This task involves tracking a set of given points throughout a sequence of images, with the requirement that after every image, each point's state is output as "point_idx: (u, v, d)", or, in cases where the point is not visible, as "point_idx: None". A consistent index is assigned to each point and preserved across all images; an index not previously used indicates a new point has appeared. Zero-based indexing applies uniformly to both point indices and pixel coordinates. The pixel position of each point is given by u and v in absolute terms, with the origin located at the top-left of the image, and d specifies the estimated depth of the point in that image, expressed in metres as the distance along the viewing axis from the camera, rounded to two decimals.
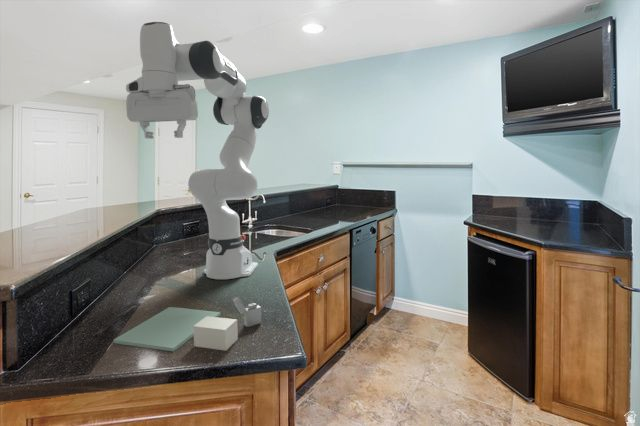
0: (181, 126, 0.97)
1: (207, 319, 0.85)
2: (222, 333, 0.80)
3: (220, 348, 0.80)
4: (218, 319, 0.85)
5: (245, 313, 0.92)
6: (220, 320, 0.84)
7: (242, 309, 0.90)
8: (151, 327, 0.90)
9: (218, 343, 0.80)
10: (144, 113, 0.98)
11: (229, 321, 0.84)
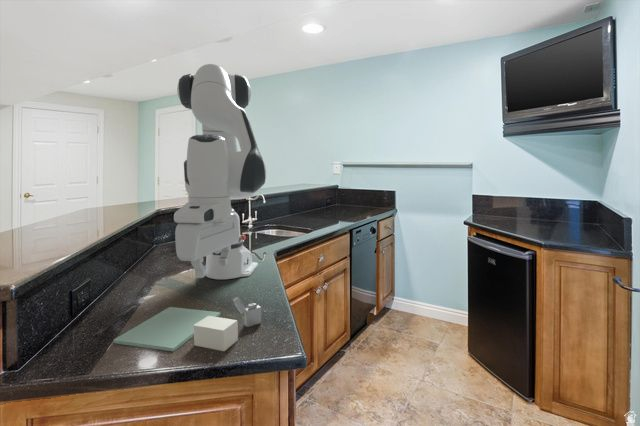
0: None
1: (208, 318, 0.85)
2: (220, 333, 0.80)
3: (218, 348, 0.80)
4: (219, 319, 0.85)
5: (245, 313, 0.92)
6: (221, 320, 0.84)
7: (242, 309, 0.90)
8: (151, 327, 0.90)
9: (217, 343, 0.80)
10: (208, 246, 0.76)
11: (229, 322, 0.83)
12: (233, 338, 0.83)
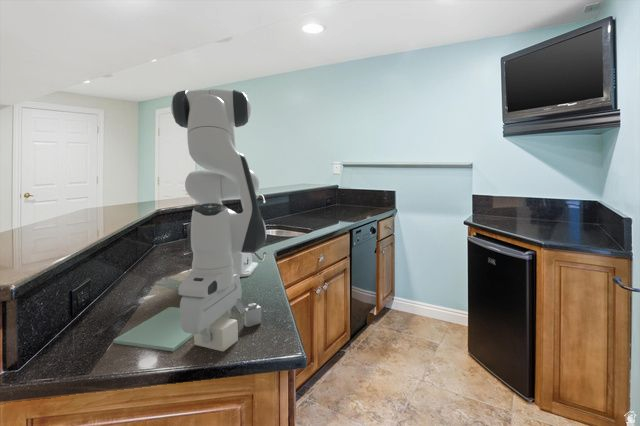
0: None
1: None
2: (219, 333, 0.79)
3: (217, 348, 0.80)
4: (219, 318, 0.85)
5: (245, 313, 0.92)
6: (221, 319, 0.84)
7: (242, 309, 0.90)
8: (151, 327, 0.90)
9: (216, 342, 0.80)
10: (212, 315, 0.78)
11: (229, 321, 0.83)
12: (233, 338, 0.83)
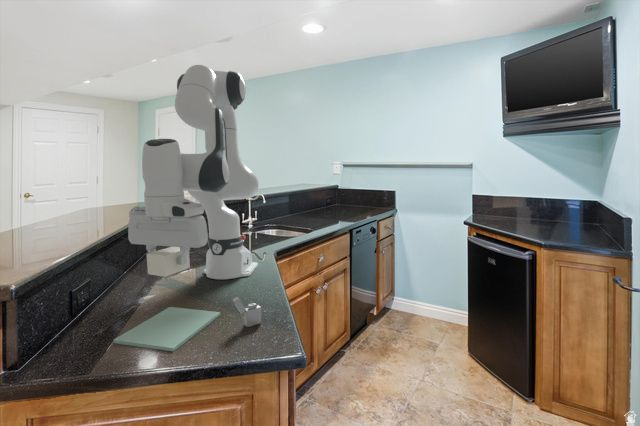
0: None
1: (155, 253, 0.87)
2: None
3: (185, 267, 0.91)
4: (161, 250, 0.89)
5: (245, 313, 0.92)
6: (164, 250, 0.90)
7: (242, 309, 0.90)
8: (151, 327, 0.90)
9: None
10: None
11: (172, 248, 0.92)
12: None
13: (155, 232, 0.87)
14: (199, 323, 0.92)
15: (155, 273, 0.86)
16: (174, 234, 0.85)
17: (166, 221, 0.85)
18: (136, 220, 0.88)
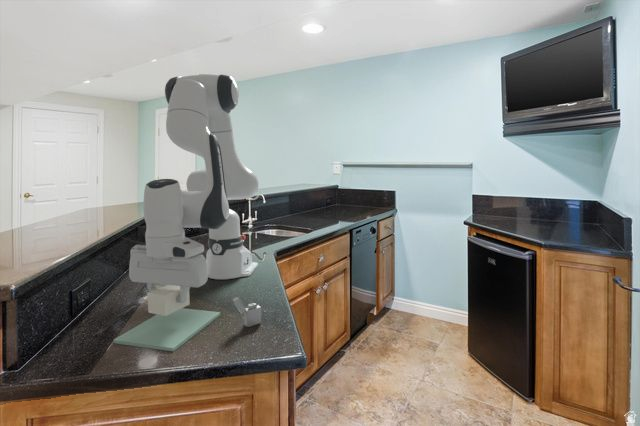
0: None
1: (155, 292, 0.88)
2: None
3: (185, 304, 0.92)
4: (162, 288, 0.90)
5: (245, 313, 0.92)
6: (165, 287, 0.91)
7: (242, 309, 0.90)
8: (151, 327, 0.90)
9: None
10: None
11: None
12: None
13: (155, 270, 0.88)
14: (199, 323, 0.92)
15: (155, 312, 0.87)
16: (175, 273, 0.87)
17: (166, 261, 0.86)
18: (137, 259, 0.89)
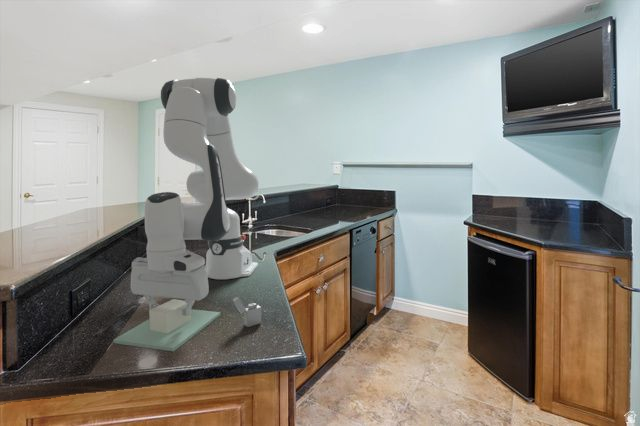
0: None
1: (157, 309, 0.88)
2: None
3: (187, 320, 0.93)
4: (163, 305, 0.91)
5: (245, 313, 0.92)
6: (166, 304, 0.92)
7: (242, 309, 0.90)
8: None
9: (185, 316, 0.92)
10: None
11: (174, 301, 0.94)
12: None
13: (156, 283, 0.89)
14: (199, 323, 0.92)
15: (158, 329, 0.88)
16: (176, 287, 0.87)
17: (167, 274, 0.87)
18: (138, 272, 0.89)
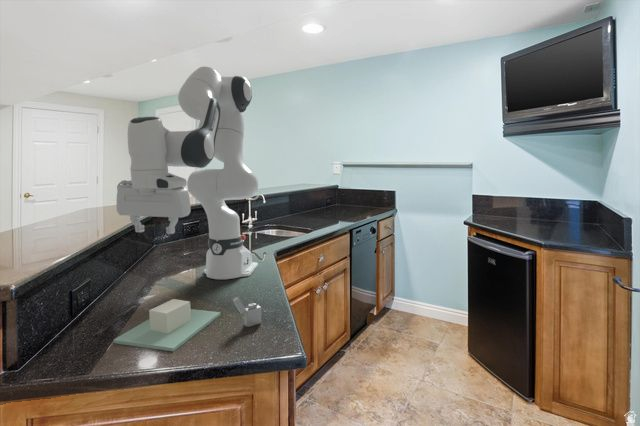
0: None
1: (157, 309, 0.88)
2: (188, 306, 0.93)
3: (187, 320, 0.93)
4: (163, 305, 0.91)
5: (245, 313, 0.92)
6: (166, 304, 0.92)
7: (242, 309, 0.90)
8: None
9: (185, 316, 0.92)
10: None
11: (174, 301, 0.94)
12: None
13: (141, 203, 0.94)
14: (199, 323, 0.92)
15: (158, 329, 0.88)
16: (159, 205, 0.93)
17: (151, 193, 0.92)
18: (123, 193, 0.95)
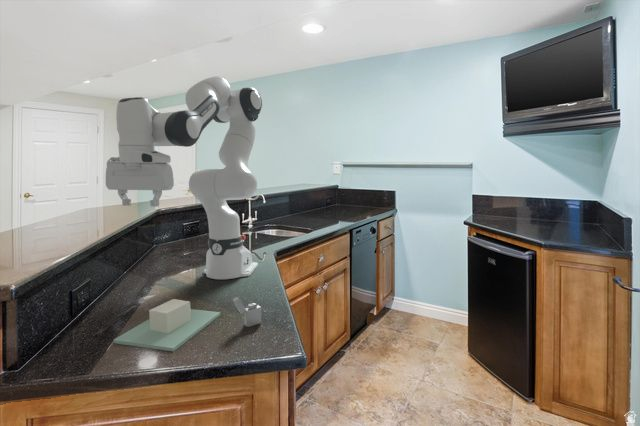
0: None
1: (157, 309, 0.88)
2: (188, 306, 0.93)
3: (187, 320, 0.93)
4: (163, 305, 0.91)
5: (245, 313, 0.92)
6: (166, 304, 0.92)
7: (242, 309, 0.90)
8: None
9: (185, 316, 0.92)
10: None
11: (174, 301, 0.94)
12: None
13: (128, 177, 1.01)
14: (199, 323, 0.92)
15: (158, 329, 0.88)
16: (144, 179, 1.00)
17: (137, 167, 0.99)
18: (112, 168, 1.02)
